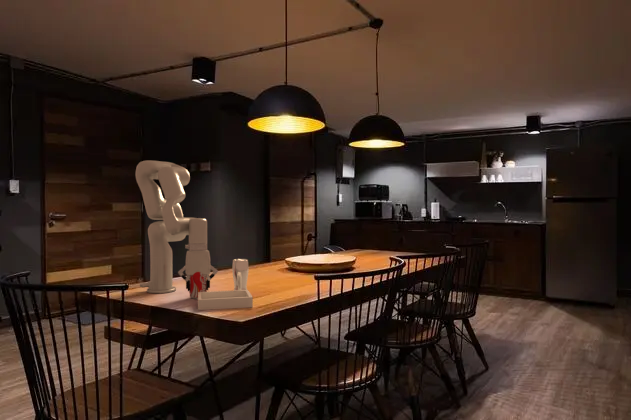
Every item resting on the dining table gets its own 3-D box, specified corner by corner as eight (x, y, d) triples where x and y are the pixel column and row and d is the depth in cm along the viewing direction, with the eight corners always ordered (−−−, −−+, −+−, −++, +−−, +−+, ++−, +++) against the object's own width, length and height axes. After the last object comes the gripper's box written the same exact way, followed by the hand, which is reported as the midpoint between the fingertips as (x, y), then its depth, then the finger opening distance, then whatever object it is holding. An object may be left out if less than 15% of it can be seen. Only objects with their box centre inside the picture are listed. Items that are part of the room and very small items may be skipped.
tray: (198, 310, 166) (198, 299, 166) (198, 301, 181) (198, 292, 181) (252, 307, 171) (252, 297, 171) (248, 299, 186) (248, 289, 186)
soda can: (197, 300, 184) (197, 270, 184) (185, 298, 188) (185, 269, 188) (210, 297, 190) (210, 268, 190) (198, 295, 194) (198, 267, 194)
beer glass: (245, 295, 193) (245, 260, 193) (229, 295, 195) (229, 260, 195) (250, 292, 200) (250, 259, 200) (235, 292, 202) (235, 258, 202)
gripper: (175, 248, 183) (176, 292, 183) (219, 248, 188) (219, 290, 188) (176, 247, 191) (176, 289, 191) (218, 246, 195) (218, 287, 195)
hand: (198, 289), depth 189 cm, fingers closed on soda can, 7 cm apart
